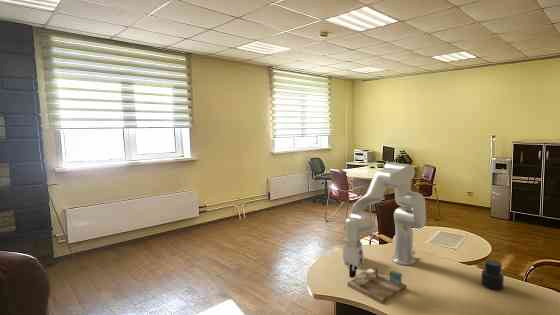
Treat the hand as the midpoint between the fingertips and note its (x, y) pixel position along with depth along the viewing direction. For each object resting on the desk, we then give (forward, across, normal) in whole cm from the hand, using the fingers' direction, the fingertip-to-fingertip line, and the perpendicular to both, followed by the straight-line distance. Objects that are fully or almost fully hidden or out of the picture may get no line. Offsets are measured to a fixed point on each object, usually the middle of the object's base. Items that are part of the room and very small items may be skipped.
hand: (352, 276), depth 159 cm
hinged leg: (+1, -6, -4) cm, 7 cm away
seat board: (+3, -11, -5) cm, 12 cm away
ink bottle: (+3, -46, -49) cm, 67 cm away
